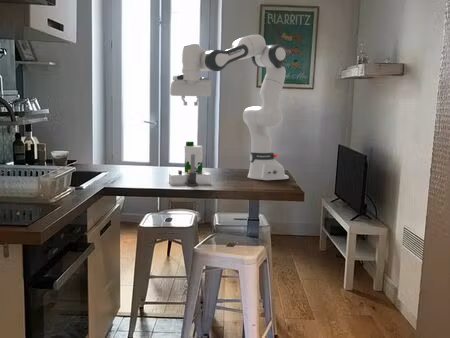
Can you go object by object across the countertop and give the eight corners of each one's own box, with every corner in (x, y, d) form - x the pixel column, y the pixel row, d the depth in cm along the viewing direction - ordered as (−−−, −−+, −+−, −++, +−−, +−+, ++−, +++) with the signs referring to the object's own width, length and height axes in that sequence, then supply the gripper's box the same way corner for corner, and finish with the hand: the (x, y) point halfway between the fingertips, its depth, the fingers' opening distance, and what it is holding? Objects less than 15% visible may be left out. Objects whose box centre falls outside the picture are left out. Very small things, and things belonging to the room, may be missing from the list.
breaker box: (207, 181, 259) (207, 168, 258) (210, 184, 251) (211, 171, 250) (168, 182, 253) (169, 169, 252) (171, 185, 246) (171, 172, 245)
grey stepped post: (196, 184, 249) (197, 153, 246) (198, 186, 244) (199, 155, 241) (186, 185, 247) (186, 153, 245) (188, 186, 242) (188, 155, 240)
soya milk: (187, 178, 268) (187, 141, 265) (203, 178, 267) (204, 141, 264) (182, 180, 260) (183, 142, 257) (199, 181, 258) (200, 143, 255)
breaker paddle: (190, 172, 253) (190, 169, 253) (191, 173, 250) (191, 170, 250) (188, 172, 253) (188, 169, 252) (189, 173, 250) (189, 170, 250)
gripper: (210, 77, 250) (209, 105, 252) (169, 76, 245) (169, 105, 247) (213, 77, 244) (212, 106, 246) (171, 76, 239) (171, 105, 241)
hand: (190, 105), depth 247 cm, fingers open, 4 cm apart
